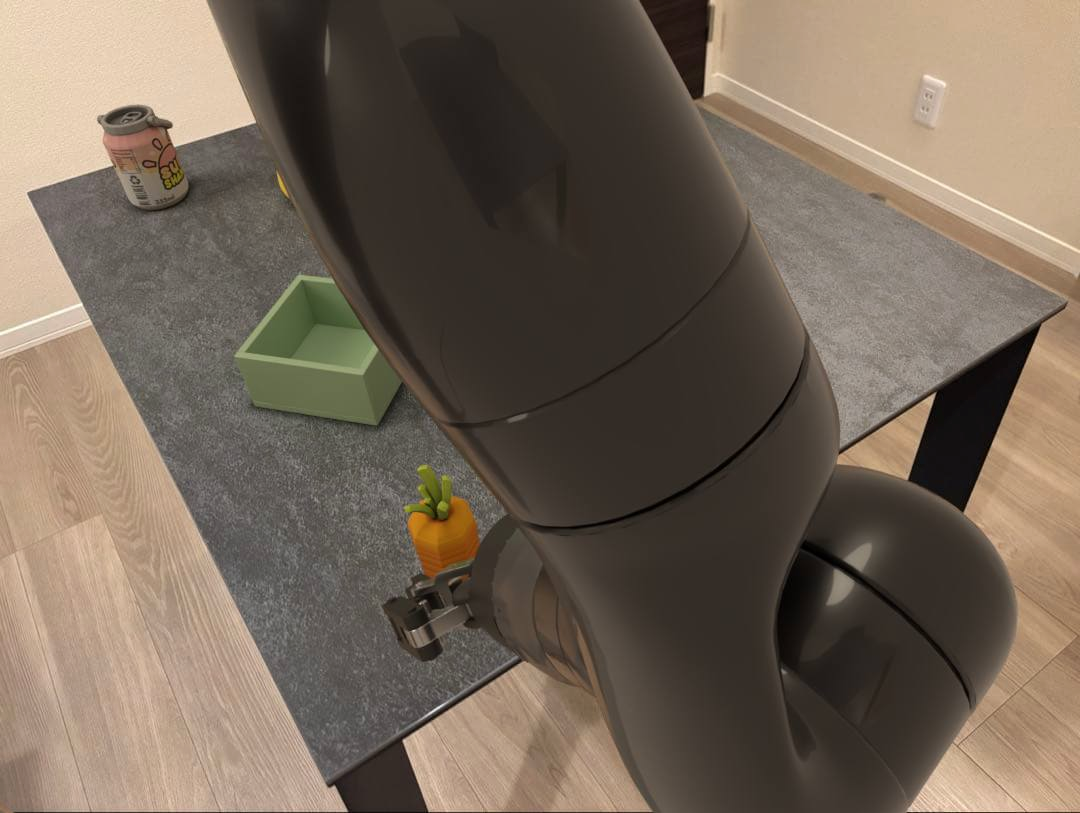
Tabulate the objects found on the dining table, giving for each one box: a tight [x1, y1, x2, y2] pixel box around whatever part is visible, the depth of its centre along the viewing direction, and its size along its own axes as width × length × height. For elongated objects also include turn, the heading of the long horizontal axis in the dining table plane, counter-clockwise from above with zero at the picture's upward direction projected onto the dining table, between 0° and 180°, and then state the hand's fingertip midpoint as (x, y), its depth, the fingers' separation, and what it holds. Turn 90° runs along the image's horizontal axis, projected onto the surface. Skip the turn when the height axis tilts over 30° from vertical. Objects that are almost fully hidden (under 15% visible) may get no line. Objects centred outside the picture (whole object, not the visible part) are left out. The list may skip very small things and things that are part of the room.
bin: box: [233, 274, 403, 427], centre depth 85 cm, size 14×14×7 cm
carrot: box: [403, 464, 480, 597], centre depth 61 cm, size 5×5×15 cm
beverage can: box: [96, 104, 189, 211], centre depth 112 cm, size 9×8×12 cm
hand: (483, 559), depth 52 cm, fingers open, 8 cm apart
